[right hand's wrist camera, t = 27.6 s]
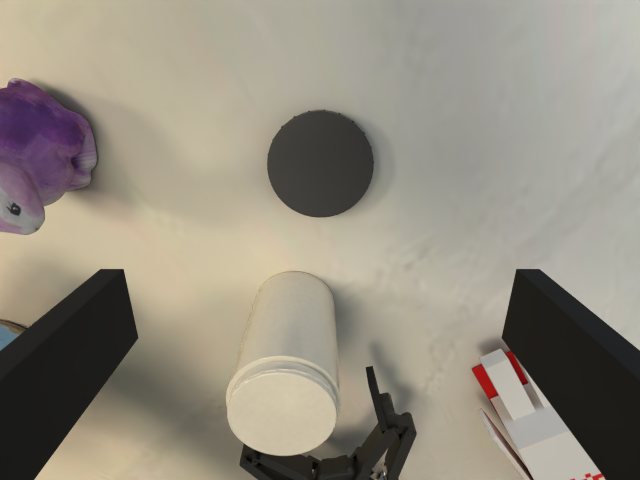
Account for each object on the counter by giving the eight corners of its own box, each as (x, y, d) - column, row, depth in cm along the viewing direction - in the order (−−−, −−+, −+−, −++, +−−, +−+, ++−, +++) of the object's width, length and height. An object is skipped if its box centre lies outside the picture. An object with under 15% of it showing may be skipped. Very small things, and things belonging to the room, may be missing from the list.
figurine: (94, 211, 40) (-27, 276, 26) (-3, 157, 38) (-192, 197, 24) (129, 134, 37) (13, 160, 23) (26, 71, 35) (-171, 59, 21)
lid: (283, 222, 40) (281, 227, 39) (256, 122, 37) (254, 123, 35) (378, 202, 40) (381, 206, 38) (362, 98, 36) (364, 98, 34)
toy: (593, 358, 35) (695, 574, 41) (527, 299, 48) (612, 470, 54) (472, 408, 38) (584, 606, 43) (440, 339, 50) (530, 498, 56)
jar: (350, 297, 44) (366, 404, 29) (305, 352, 47) (299, 475, 32) (282, 256, 42) (261, 348, 27) (240, 315, 45) (199, 428, 30)
